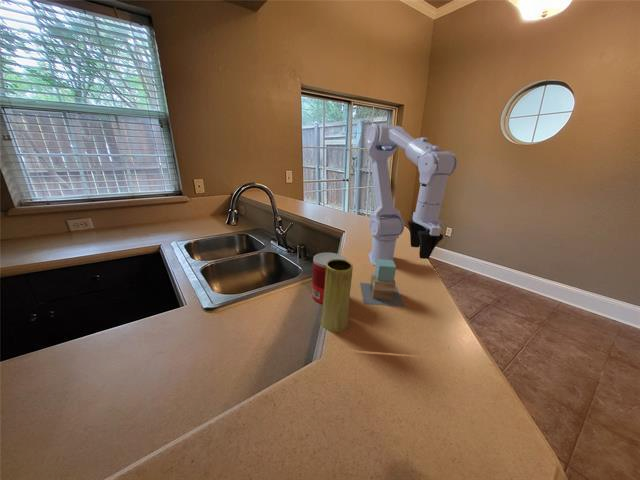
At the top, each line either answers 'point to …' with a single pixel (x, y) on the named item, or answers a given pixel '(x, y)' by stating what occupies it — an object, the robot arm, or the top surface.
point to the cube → (385, 270)
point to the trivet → (369, 300)
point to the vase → (336, 295)
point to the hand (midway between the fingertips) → (419, 252)
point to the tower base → (381, 294)
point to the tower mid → (382, 284)
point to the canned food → (321, 274)
